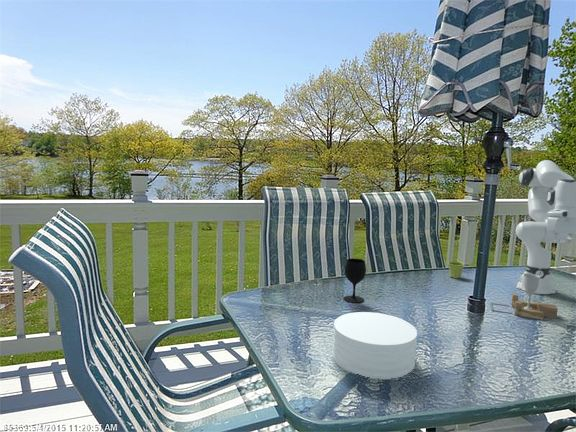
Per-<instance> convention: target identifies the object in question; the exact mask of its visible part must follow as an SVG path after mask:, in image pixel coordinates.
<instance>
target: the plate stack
mask: <svg viewBox="0 0 576 432" xmlns="http://www.w3.org/2000/svg"><path fill="white" fill-rule="evenodd" d="M332 333H333V337H332V353H331V355H332V359H333V361H334V363H336V364H337V365H338V366H339V367H340V368H342V369H344V370H345V371H346V370H347V372H348V371H349V373H351V372H352V373H351V374H353V373H355V374H354V375H356V374H359V375H362V376H365V377H364V378H367V377H370V378H369V379H373V378H379V379H378V380H392V379H391V378H396V379H398V378H397V377H401V376H404V375H406V374H408V373H409V372H411V371H412V370H413V369H414V370H415V368H416V367H415V366H416V357H417V356H416V352H417V344H418V343H417V342H418V339H417V338H418V330H417V329H416V327H414V325H412V324H411V323H410V322H408V321H406V320H404V319H403V318H400V317H397V316H394V315H390V314H385V313H380V312H372V311H358V312H349V313H345V314H342V315H340V316H338V317H336V319H335V320H334V322H333V332H332ZM414 367H415V368H414ZM414 370H413V371H414ZM413 371H412V372H413ZM412 372H411V373H412ZM359 375H358V376H359ZM408 375H409V374H408ZM362 376H361V377H362ZM406 376H407V375H406ZM404 377H405V376H404ZM401 378H402V377H401Z"/></svg>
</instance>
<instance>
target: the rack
mask: <svg viewBox="0 0 576 432" xmlns="http://www.w3.org/2000/svg"><path fill="white" fill-rule="evenodd" d="M527 302H528V301H524V300H519V294H516V293H512V294H511V303H510V306H511V307H512V308H514V311H513V314H514V316H517V317H518V316H519V317H524V318H531V319H537V320H541V321H542V320H544V317H543V315H544V313H543V311H537V303H538V302H532V301H530V302H531V303H530V308H532V309H533V310H529V309H524V307H527V305H528V304H527Z"/></svg>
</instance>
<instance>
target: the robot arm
mask: <svg viewBox="0 0 576 432" xmlns="http://www.w3.org/2000/svg"><path fill="white" fill-rule="evenodd" d="M518 181H519V183H520V185H521V186H522V187H523V186H524V187H531V188H530V189H529V190H528V194H527V195H528V196H527V208H528V216H529V217H530V218H531V219H532V220H533V221H521V222H519V223H518V224H517V225H516V228H515V235H516V237H517V238H518V239H519V240H521V241H522V242H523V244H524V245H525V247H526V251H527V261H526V264H525V266H524V267H525V269H524V272H523V274H521V275H519V277H518V278H519V281H518V282H517V284H516V289H518V290H522V291H525V288H524V274H526V273H528V274H535V275H539V276H540V278H539V284H538V288H537V290H536V291H535V293H534V294H538V295H550V294H556V290H554V289H553V285H554V283H553V282H554V279H553V277H552V276H551V273H552V268H551V265H552V264H551V262H552V253H551V252H550V251H549V250H548V249H546V248H544V247H543V246H542V245H541V243H548V244H549V243H551V244H553V243H554V244H560V243H565V242H566V244H572V243H573V239H574V238H575V234H576V178H575V177H574V176H572V175H571V174H568V173H566V172H564V171H563V170H562V169H561V168H560V167H559V165H557V164H556V163H555V162H554V161H552V160H549V159H544V160H541V161H539V162H538V164H537V165H536V167H528V168H524V169H522V170H521V171H520V173H519V176H518ZM552 207H554V208H553V209H552ZM525 292H526V291H525Z"/></svg>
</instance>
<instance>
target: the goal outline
mask: <svg viewBox="0 0 576 432" xmlns="http://www.w3.org/2000/svg"><path fill="white" fill-rule="evenodd" d="M489 305H490V309H491V311H492V312H498V313H505V314H512V312H509V311H503V310H497V309H494V307H493V305H497V306H504V307H505V306H506V307H510V305H509V304H502V303H495V302H489Z"/></svg>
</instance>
